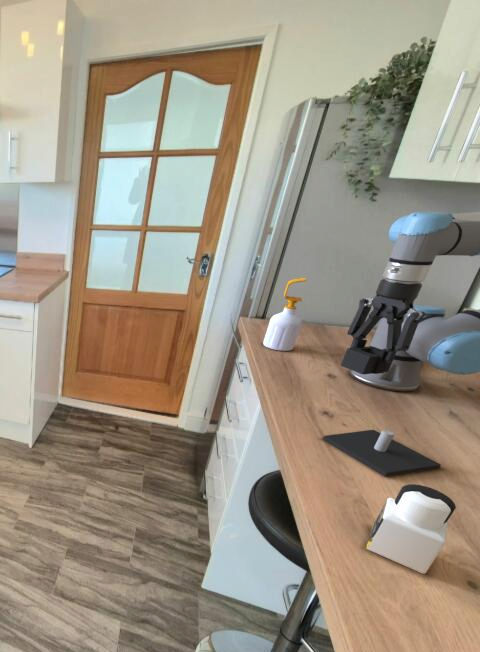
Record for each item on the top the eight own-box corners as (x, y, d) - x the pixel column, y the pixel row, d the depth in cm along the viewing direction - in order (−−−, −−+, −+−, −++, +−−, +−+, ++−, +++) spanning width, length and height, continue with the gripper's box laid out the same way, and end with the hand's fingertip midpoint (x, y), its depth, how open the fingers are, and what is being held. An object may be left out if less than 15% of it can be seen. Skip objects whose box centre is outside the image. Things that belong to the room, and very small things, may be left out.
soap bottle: (293, 353, 148) (318, 282, 137) (262, 348, 152) (284, 279, 142) (292, 345, 155) (315, 277, 144) (262, 340, 159) (283, 274, 148)
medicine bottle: (371, 527, 76) (401, 473, 70) (427, 550, 71) (464, 494, 66) (365, 549, 71) (396, 493, 66) (424, 575, 67) (463, 517, 61)
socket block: (364, 363, 117) (372, 346, 115) (387, 372, 112) (396, 354, 109) (340, 365, 116) (347, 348, 114) (362, 374, 110) (370, 356, 108)
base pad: (371, 433, 103) (381, 413, 100) (439, 468, 90) (451, 446, 88) (322, 439, 101) (331, 419, 98) (384, 476, 88) (396, 454, 86)
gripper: (350, 273, 111) (320, 355, 121) (434, 290, 94) (390, 384, 105) (374, 271, 112) (342, 353, 123) (461, 288, 96) (415, 381, 106)
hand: (364, 367), depth 114 cm, fingers closed on socket block, 6 cm apart
